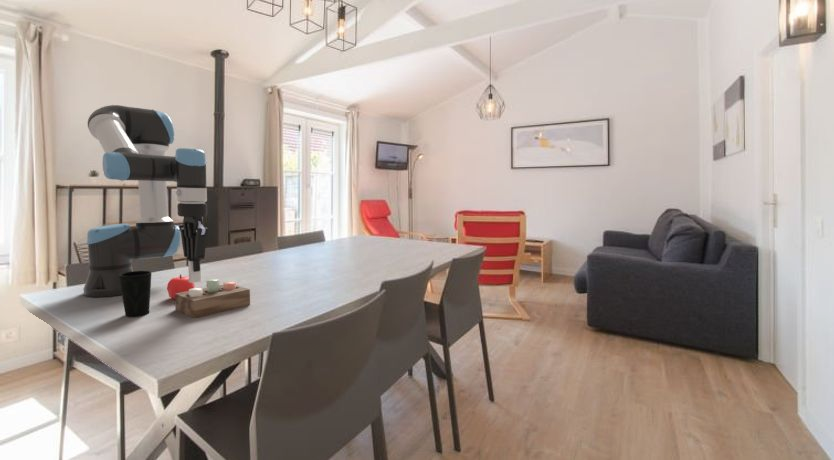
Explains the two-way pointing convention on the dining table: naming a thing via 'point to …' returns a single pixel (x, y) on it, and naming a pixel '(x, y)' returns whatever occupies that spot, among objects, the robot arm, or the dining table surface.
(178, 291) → the apple
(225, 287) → the coral button
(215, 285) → the pale green rounded piece
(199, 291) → the white egg
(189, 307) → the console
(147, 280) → the cup
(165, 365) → the dining table surface
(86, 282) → the robot arm
